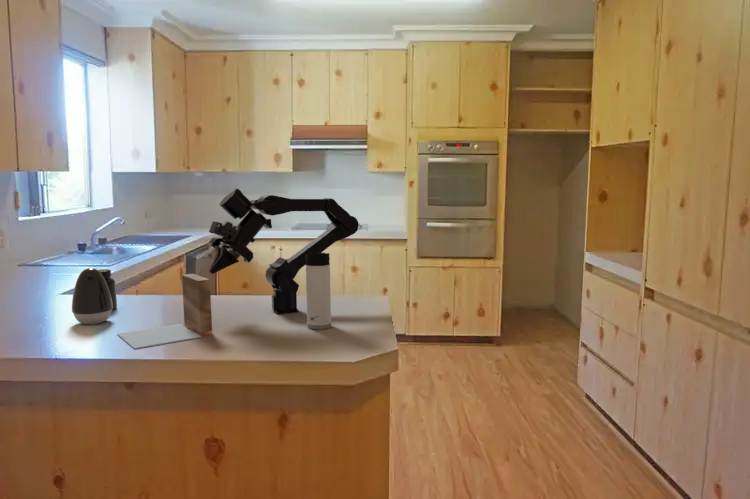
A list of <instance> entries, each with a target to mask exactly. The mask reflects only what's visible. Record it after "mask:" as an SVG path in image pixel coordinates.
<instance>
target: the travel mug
mask: <svg viewBox="0 0 750 499" xmlns="http://www.w3.org/2000/svg"><path fill="white" fill-rule="evenodd" d="M330 260H331V258H330V253H329V252H328V253H327V252H322V253H318V254H315V255H311V254H309V255H306V265H305V282H306V283H305V284H306V287H305V288H306V320H307V322H306V325H307V328H308V329H310V330H320V331H321V330H326V329H329V328H331V326H332V310H331V308H332V307H331V302H332V301H331V298H332V297H331V296H332V295H331V267H330V266H331V262H330Z"/></svg>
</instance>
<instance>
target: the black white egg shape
mask: <svg viewBox="0 0 750 499" xmlns="http://www.w3.org/2000/svg"><path fill="white" fill-rule="evenodd" d="M98 270H99V269H96V268H93V267H92V268H91V267H89V268H85V269H83V270H82V271H81V272H80V273H79V275H78V277H77V279H76V282H75V285H74V290H73V295H72V300H71V302H72V303H71V312H72V313H73V316H74V318H75V320H76V321H77V322H78V323H81V324H82V325H89V326H90V325H93V326H94V325H98V324H99V325H100V324H102V323H104V322H106V321H107V320H108V319H109V318H110V316H111V315H112V312H113V310H112V309H113V303H112V298H111V294H110V291H109V288H108V286H107V283H106V281H105V279H104V277H103V275H102V274H101V273H100V272H99V271H98Z"/></svg>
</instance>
